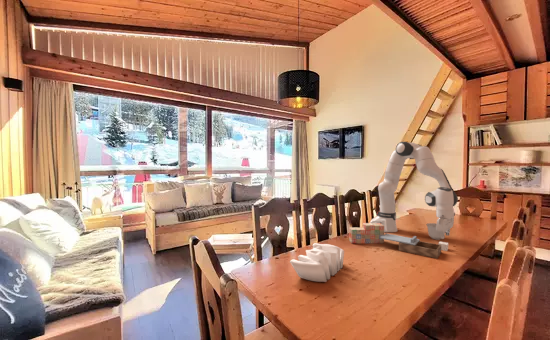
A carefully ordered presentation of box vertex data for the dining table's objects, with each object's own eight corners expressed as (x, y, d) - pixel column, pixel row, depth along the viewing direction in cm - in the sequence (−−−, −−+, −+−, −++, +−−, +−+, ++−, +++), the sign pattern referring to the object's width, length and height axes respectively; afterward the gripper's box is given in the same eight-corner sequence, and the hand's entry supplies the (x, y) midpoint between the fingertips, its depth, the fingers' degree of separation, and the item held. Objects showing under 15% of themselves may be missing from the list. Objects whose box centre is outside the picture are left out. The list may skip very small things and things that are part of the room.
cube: (438, 250, 152) (438, 243, 152) (439, 248, 156) (439, 241, 156) (447, 252, 149) (447, 244, 149) (448, 250, 153) (448, 242, 153)
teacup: (455, 242, 167) (455, 227, 166) (432, 242, 167) (432, 227, 167) (443, 236, 179) (443, 223, 178) (422, 237, 179) (422, 223, 179)
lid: (419, 240, 154) (419, 236, 154) (415, 245, 146) (415, 240, 146) (385, 234, 168) (385, 230, 168) (380, 238, 160) (380, 234, 159)
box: (441, 253, 147) (441, 245, 147) (437, 259, 138) (437, 250, 138) (404, 245, 161) (404, 238, 161) (398, 251, 152) (398, 242, 152)
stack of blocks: (351, 243, 167) (351, 225, 166) (349, 240, 173) (349, 222, 173) (384, 243, 166) (384, 225, 166) (380, 240, 172) (380, 222, 172)
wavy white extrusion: (316, 289, 108) (316, 265, 107) (286, 278, 118) (286, 256, 118) (350, 263, 134) (350, 244, 134) (323, 256, 145) (323, 238, 145)
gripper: (445, 217, 143) (445, 241, 143) (455, 212, 156) (456, 234, 156) (433, 216, 147) (433, 239, 148) (444, 211, 161) (444, 232, 161)
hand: (445, 236), depth 152 cm, fingers open, 8 cm apart
